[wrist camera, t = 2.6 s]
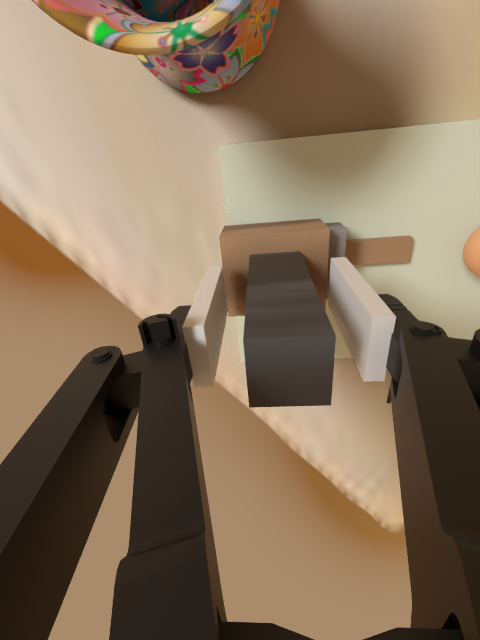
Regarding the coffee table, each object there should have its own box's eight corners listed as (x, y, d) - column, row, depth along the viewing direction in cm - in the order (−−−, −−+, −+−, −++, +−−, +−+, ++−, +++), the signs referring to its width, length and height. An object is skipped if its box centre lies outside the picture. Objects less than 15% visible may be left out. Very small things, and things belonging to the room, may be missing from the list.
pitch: (219, 145, 19) (216, 145, 18) (605, 107, 17) (636, 103, 16) (240, 355, 27) (240, 366, 25) (509, 344, 25) (525, 356, 23)
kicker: (224, 225, 19) (186, 311, 9) (339, 216, 19) (442, 297, 8) (232, 297, 22) (208, 430, 11) (334, 291, 21) (409, 426, 11)
